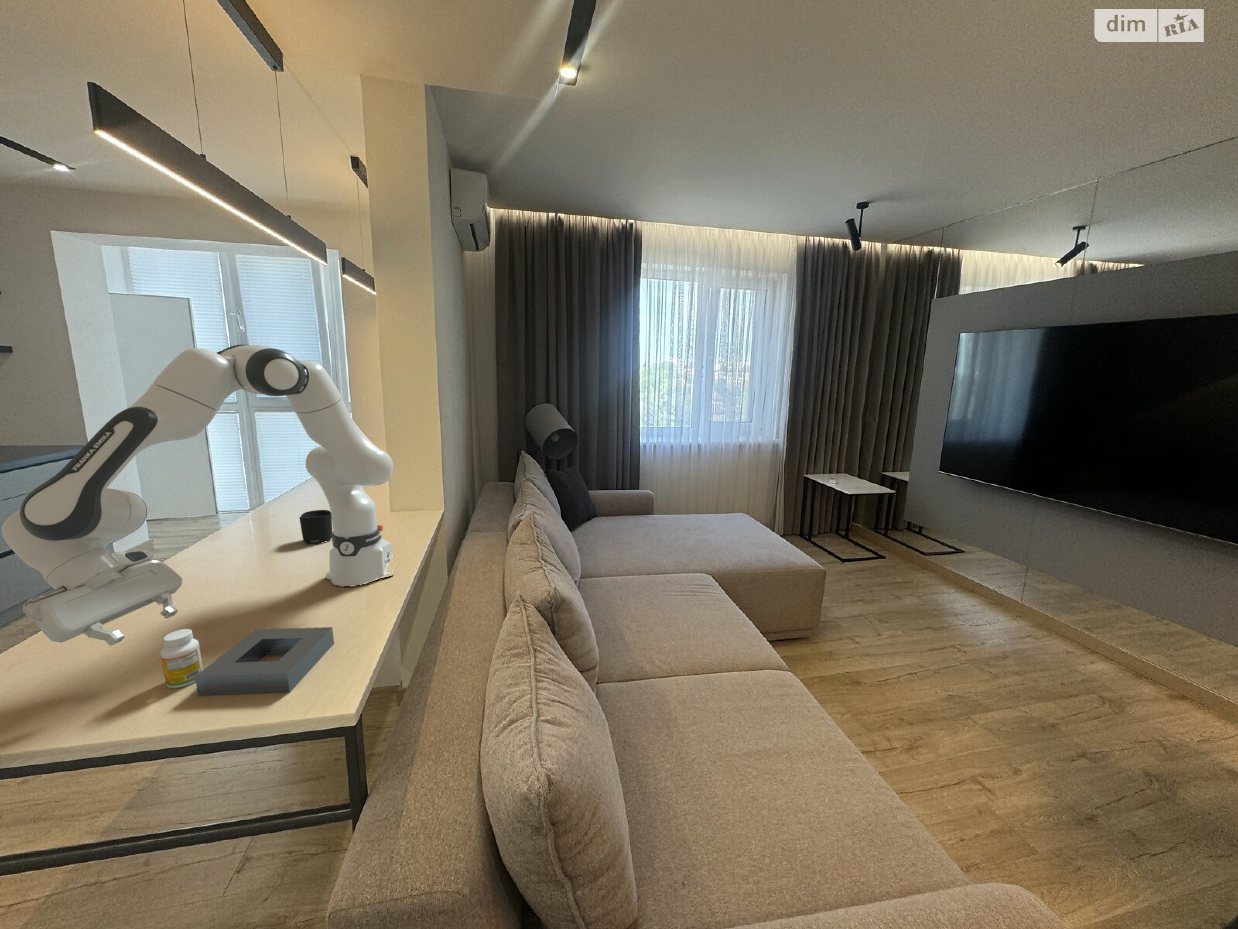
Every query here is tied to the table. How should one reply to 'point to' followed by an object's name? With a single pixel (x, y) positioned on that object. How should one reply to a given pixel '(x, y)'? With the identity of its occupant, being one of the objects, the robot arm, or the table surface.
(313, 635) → the grey square frame
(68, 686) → the table surface
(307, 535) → the pen holder
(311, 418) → the robot arm
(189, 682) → the supplement bottle
